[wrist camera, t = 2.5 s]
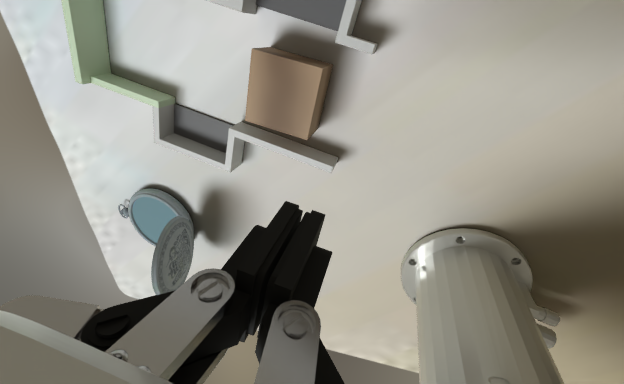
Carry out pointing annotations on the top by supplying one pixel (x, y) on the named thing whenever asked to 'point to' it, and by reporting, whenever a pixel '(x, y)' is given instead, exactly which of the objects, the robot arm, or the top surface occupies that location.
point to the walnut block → (286, 91)
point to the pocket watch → (163, 236)
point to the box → (191, 124)
